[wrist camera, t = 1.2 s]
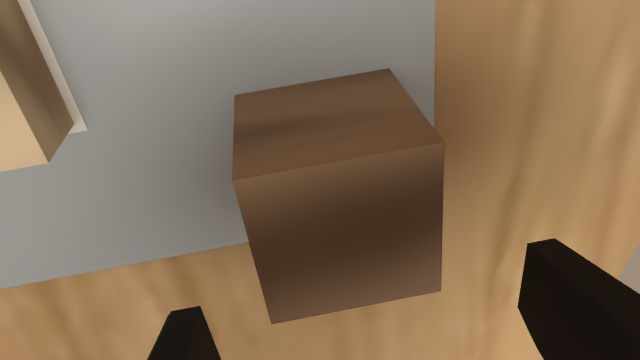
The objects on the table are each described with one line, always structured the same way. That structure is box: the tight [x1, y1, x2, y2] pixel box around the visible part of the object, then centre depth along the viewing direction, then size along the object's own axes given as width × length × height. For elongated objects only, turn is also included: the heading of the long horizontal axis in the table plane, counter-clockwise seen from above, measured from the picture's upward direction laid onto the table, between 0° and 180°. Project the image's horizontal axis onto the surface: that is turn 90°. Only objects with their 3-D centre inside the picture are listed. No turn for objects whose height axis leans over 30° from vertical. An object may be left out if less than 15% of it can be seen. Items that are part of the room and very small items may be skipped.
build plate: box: [0, 0, 435, 289], centre depth 15 cm, size 14×20×1 cm
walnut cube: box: [232, 68, 444, 324], centre depth 15 cm, size 5×5×5 cm
